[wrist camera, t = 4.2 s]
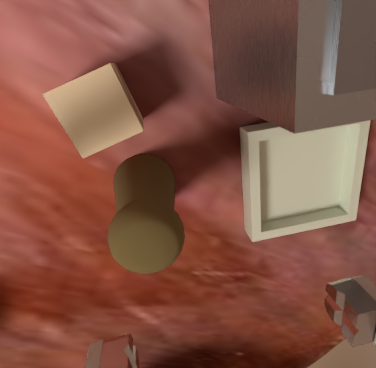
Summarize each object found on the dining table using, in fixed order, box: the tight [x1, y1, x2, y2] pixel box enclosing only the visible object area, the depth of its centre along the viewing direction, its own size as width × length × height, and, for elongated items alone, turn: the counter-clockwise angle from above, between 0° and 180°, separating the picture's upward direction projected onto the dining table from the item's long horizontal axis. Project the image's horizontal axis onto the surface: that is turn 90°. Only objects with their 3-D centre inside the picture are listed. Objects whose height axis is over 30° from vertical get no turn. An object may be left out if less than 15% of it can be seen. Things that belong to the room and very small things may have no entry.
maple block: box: [43, 63, 144, 158], centre depth 22 cm, size 5×5×5 cm
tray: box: [240, 120, 371, 242], centre depth 29 cm, size 12×12×2 cm
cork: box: [108, 154, 185, 274], centre depth 22 cm, size 6×6×11 cm
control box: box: [209, 0, 376, 134], centre depth 17 cm, size 10×12×14 cm
